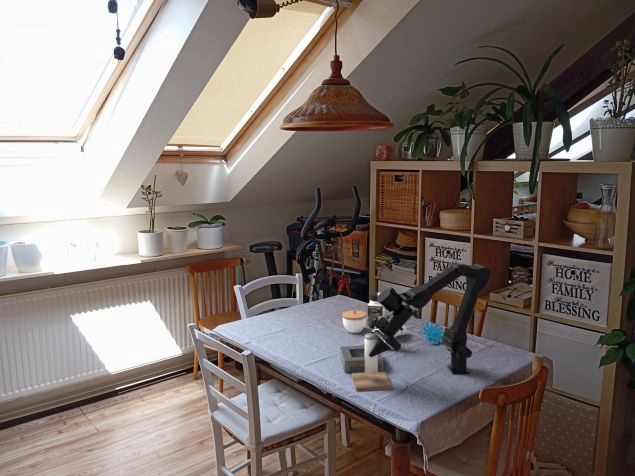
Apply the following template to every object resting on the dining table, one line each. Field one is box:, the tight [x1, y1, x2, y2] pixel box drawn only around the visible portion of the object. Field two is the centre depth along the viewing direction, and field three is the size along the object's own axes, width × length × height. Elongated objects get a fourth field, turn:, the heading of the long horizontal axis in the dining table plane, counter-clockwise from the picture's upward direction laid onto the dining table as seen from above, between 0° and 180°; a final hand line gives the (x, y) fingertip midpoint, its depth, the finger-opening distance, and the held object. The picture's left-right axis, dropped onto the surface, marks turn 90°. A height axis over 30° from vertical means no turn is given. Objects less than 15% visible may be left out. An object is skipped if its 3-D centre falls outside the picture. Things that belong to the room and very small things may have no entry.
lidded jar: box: [342, 309, 368, 334], centre depth 237 cm, size 11×11×9 cm
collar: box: [339, 345, 384, 374], centre depth 201 cm, size 14×14×4 cm
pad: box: [351, 371, 393, 392], centre depth 186 cm, size 12×12×1 cm
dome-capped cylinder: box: [364, 332, 379, 374], centre depth 184 cm, size 4×4×13 cm
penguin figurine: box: [395, 324, 407, 338], centre depth 229 cm, size 6×8×12 cm
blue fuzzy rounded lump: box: [422, 321, 445, 346], centre depth 223 cm, size 11×6×10 cm
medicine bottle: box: [367, 291, 386, 319], centre depth 255 cm, size 7×7×12 cm
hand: (367, 353), depth 184 cm, fingers closed on dome-capped cylinder, 4 cm apart
